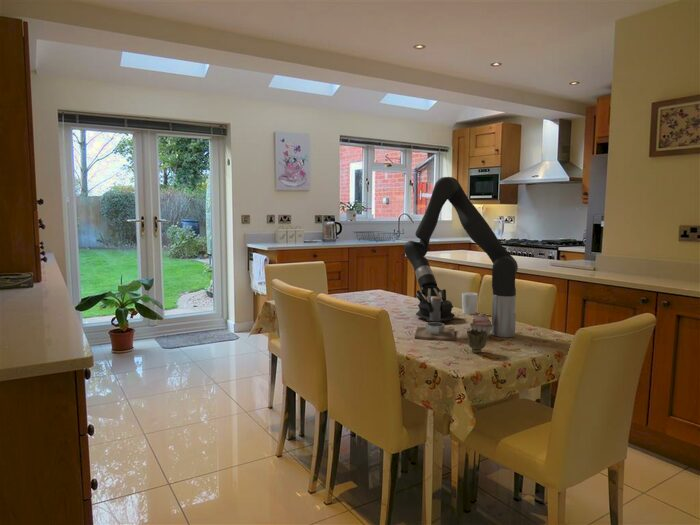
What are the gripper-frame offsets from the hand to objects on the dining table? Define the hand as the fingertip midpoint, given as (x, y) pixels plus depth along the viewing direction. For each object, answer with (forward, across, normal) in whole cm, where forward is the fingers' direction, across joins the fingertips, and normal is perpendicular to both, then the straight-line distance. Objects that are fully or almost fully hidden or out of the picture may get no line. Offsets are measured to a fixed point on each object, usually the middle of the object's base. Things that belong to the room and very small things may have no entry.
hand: (437, 311), depth 202 cm
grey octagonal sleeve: (+6, 0, +8) cm, 10 cm away
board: (+6, 0, +9) cm, 11 cm away
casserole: (-13, +14, +29) cm, 34 cm away
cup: (+25, +4, -10) cm, 28 cm away
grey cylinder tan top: (+2, 0, +4) cm, 5 cm away
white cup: (-17, +36, +33) cm, 51 cm away
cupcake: (+11, +18, +4) cm, 21 cm away
